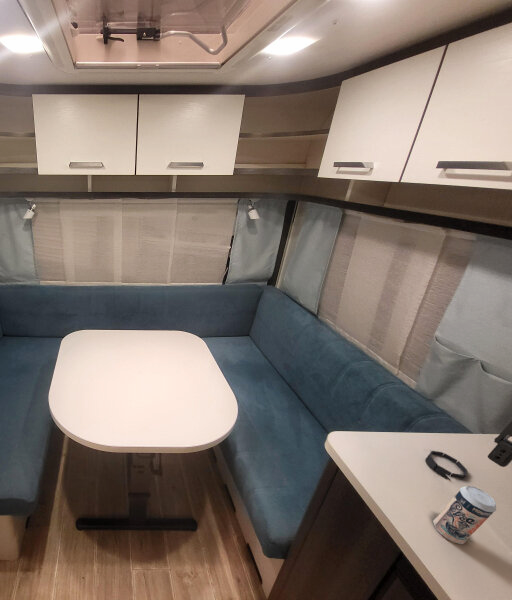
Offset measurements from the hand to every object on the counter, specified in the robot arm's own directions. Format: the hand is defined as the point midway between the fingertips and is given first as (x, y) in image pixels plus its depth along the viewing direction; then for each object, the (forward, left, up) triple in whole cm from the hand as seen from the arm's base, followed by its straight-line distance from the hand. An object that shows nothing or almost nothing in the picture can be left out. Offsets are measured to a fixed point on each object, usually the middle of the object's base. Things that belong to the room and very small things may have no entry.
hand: (508, 456), depth 55 cm
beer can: (0, +1, -22) cm, 22 cm away
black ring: (-11, -16, -22) cm, 30 cm away
